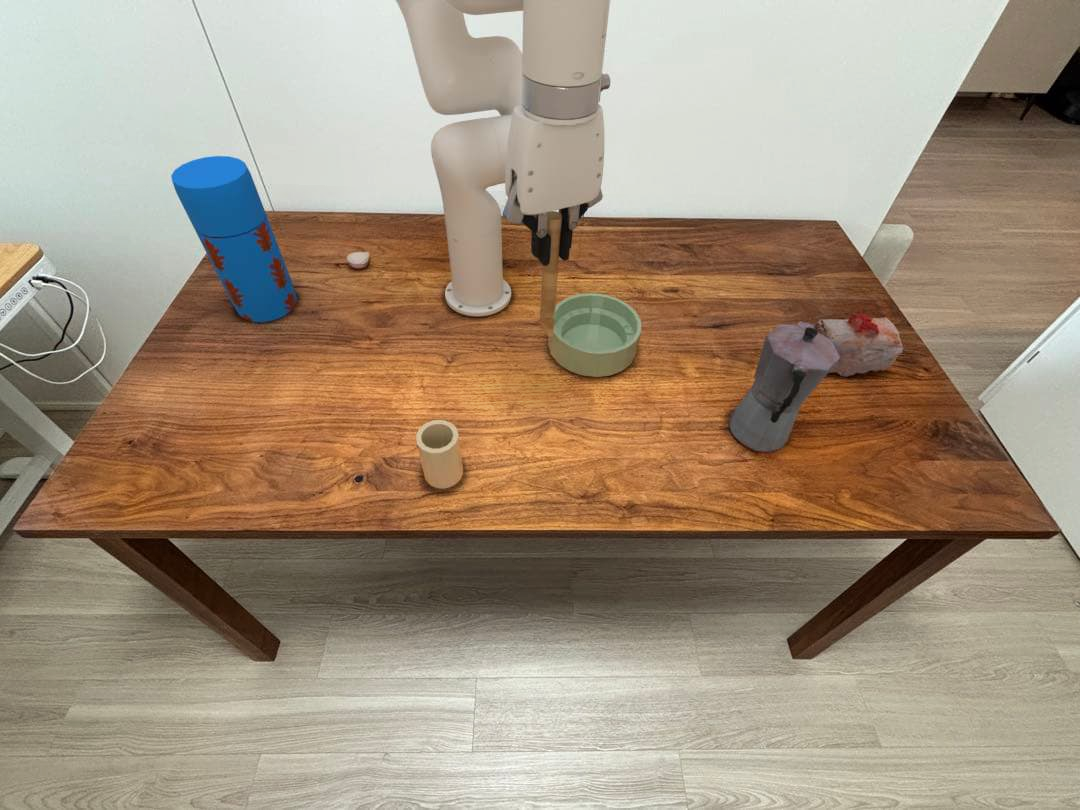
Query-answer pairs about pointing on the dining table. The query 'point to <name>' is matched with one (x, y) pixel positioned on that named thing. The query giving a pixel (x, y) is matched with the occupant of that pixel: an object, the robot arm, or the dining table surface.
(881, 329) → the food item
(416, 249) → the dining table surface
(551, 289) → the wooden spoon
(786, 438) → the moka pot
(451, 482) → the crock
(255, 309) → the thermos
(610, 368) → the bowl
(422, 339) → the dining table surface
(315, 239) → the dining table surface
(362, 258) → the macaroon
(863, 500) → the dining table surface
